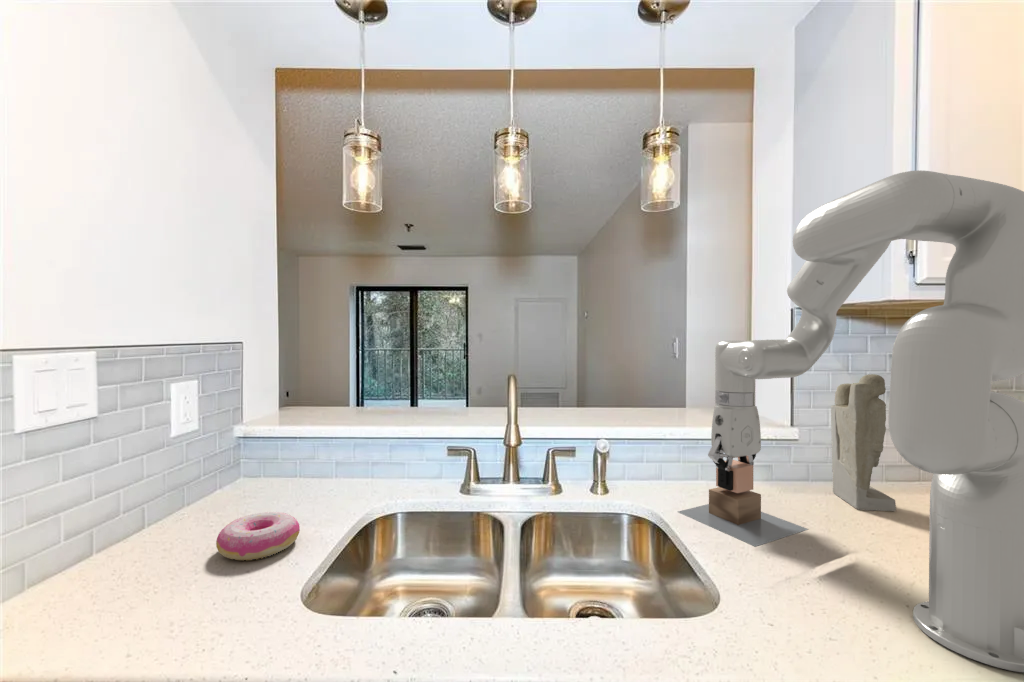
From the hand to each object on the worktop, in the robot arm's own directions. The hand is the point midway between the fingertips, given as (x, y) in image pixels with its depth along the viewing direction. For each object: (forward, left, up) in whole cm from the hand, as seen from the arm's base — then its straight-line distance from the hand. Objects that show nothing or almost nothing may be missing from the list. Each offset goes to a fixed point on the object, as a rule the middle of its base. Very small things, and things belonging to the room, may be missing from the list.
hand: (734, 485), depth 95 cm
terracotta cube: (0, 0, -1) cm, 1 cm away
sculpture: (-7, -35, -8) cm, 36 cm away
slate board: (-2, +1, -7) cm, 8 cm away
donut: (+32, +88, -8) cm, 94 cm away
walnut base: (0, 0, -6) cm, 6 cm away
